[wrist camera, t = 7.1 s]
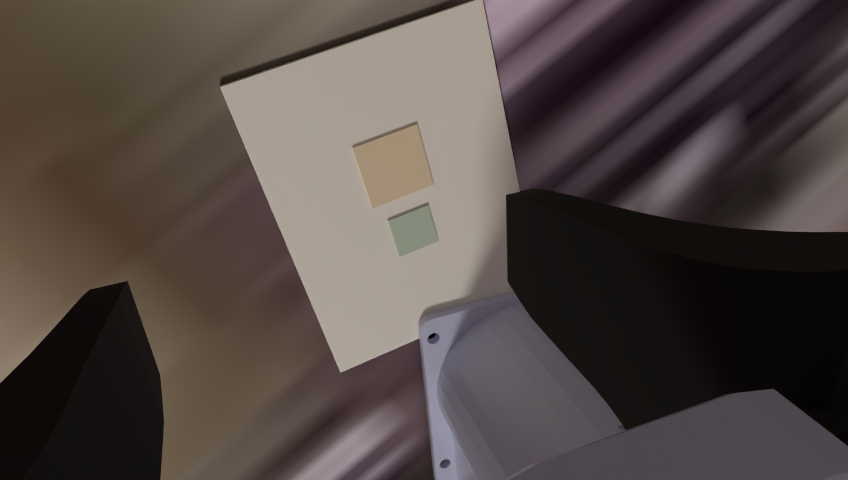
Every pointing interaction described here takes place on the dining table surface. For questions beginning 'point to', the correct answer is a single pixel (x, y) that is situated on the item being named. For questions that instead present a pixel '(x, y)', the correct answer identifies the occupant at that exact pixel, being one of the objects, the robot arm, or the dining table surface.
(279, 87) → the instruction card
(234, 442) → the dining table surface
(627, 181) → the dining table surface
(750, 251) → the robot arm
